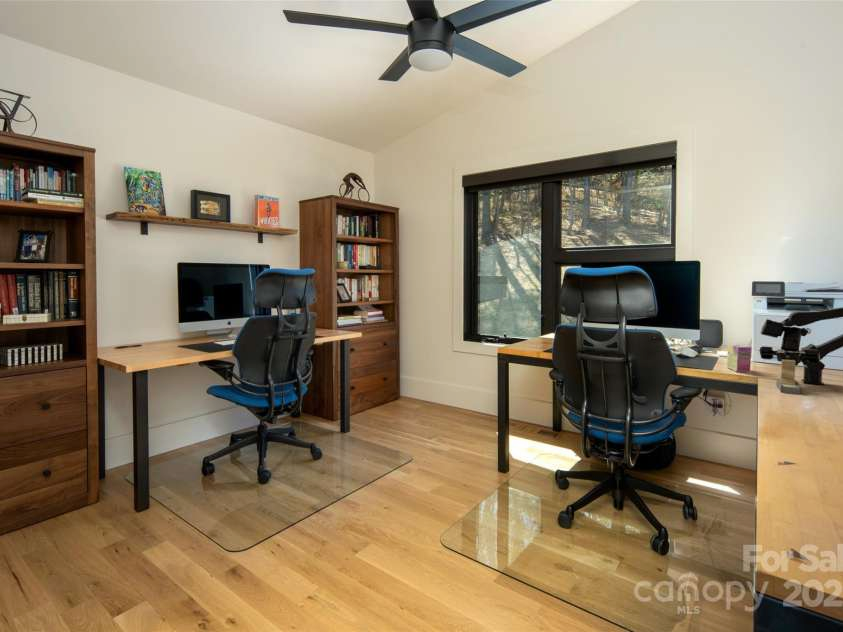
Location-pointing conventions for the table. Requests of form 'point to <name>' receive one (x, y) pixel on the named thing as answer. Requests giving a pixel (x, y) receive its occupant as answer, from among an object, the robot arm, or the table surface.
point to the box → (739, 357)
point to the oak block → (788, 372)
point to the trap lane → (789, 387)
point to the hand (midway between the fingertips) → (785, 371)
